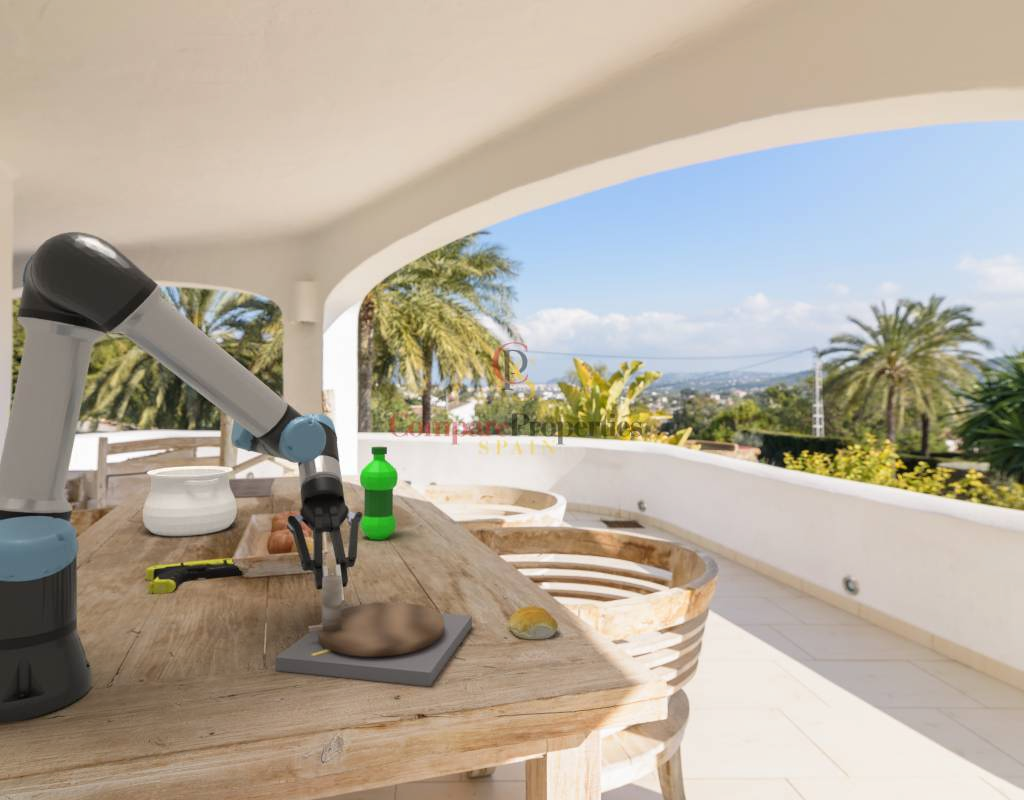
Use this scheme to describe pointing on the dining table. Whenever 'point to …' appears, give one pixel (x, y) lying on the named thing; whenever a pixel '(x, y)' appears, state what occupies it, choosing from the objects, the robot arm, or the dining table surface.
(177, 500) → the pot
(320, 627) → the dial
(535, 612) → the bread roll
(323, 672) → the base
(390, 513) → the plastic bottle
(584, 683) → the dining table surface
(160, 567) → the stun gun
